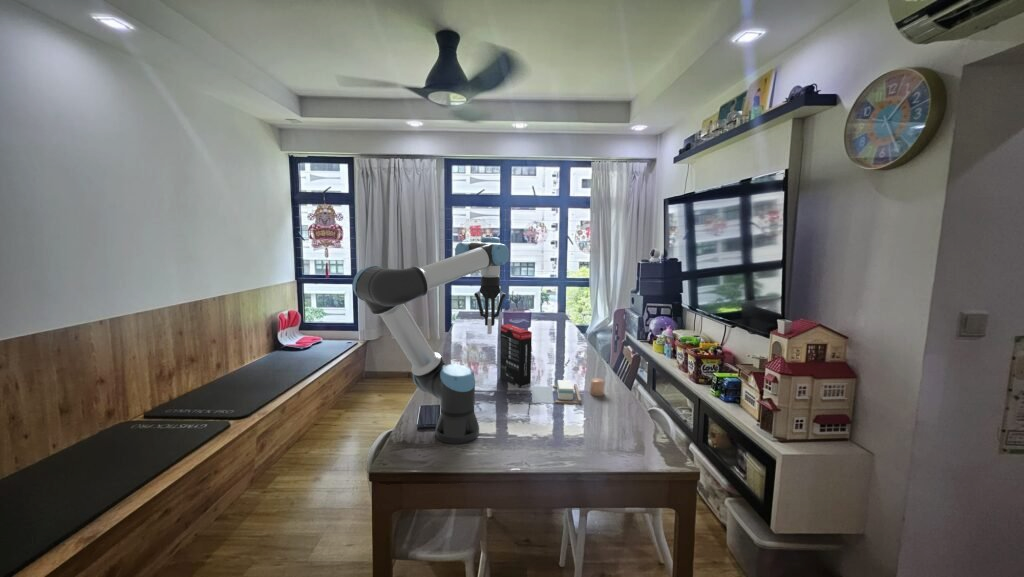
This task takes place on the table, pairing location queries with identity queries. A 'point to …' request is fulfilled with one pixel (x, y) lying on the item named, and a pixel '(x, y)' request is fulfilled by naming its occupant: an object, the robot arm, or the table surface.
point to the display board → (550, 395)
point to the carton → (565, 389)
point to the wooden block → (597, 387)
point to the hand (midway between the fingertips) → (489, 333)
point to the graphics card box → (515, 355)
